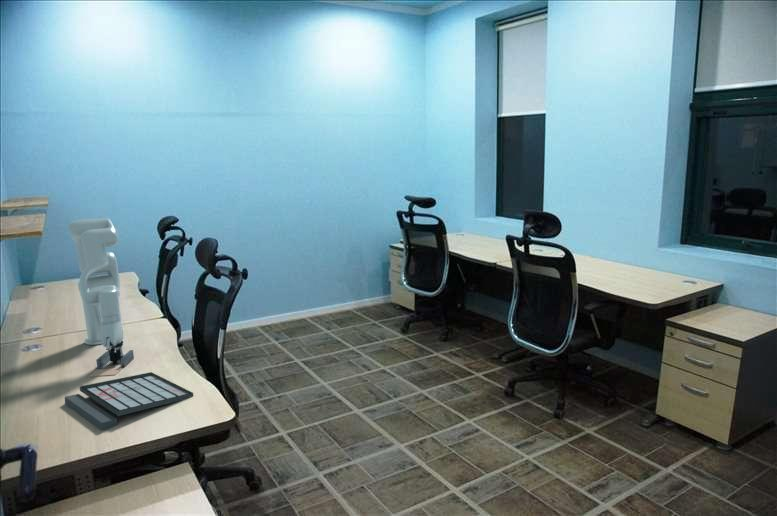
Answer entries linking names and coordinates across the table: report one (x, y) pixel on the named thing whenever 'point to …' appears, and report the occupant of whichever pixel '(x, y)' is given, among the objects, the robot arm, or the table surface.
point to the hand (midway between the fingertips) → (116, 358)
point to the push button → (118, 352)
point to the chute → (106, 357)
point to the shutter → (124, 397)
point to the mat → (105, 372)
